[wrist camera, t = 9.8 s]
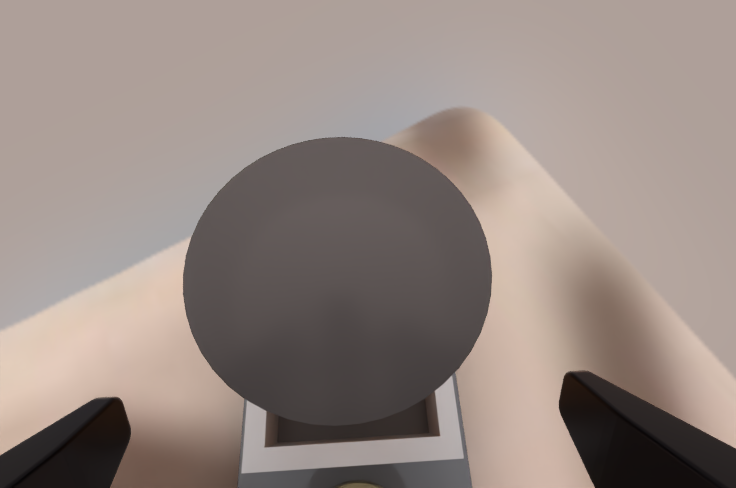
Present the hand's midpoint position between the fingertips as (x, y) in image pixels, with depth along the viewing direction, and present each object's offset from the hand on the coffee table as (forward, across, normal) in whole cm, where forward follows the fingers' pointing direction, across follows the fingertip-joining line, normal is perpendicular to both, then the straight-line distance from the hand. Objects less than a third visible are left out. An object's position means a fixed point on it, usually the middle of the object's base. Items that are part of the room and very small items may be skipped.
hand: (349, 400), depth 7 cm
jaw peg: (+9, 0, +6) cm, 11 cm away
